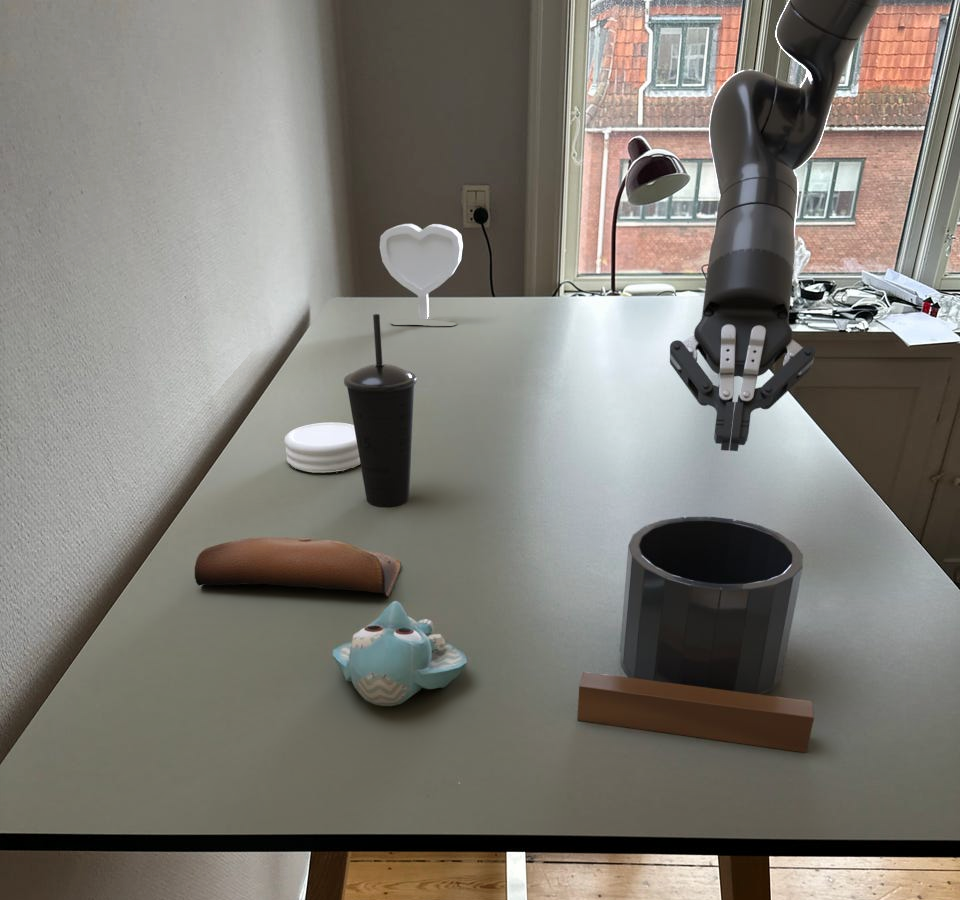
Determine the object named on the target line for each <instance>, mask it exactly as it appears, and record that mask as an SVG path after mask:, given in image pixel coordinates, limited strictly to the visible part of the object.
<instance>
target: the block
mask: <svg viewBox="0 0 960 900" xmlns="http://www.w3.org/2000/svg"><path fill="white" fill-rule="evenodd" d="M577 701H578V702H577V717H576V720H577V721H580V722H587V723H593V724H603V725H609V726H616V727H621V728H623V727H624V728H629V729H637V730H645V731H650V732H658V733H666V734H671V735H672V734H673V735H679V736H687V737H693V738H701V739H706V740H715V741H721V742H727V743H735V744H742V745H749V746H756V747H764V748H771V749H778V750H785V751H791V752H798V753H806V754H807V753H808V748H809V743H810V738H811V733H812V728H813V724H814V720H815V713H814V703H813V701H811V700H805V699H797V698H788V697H780V696H773V695H767V696H766V695H758V694H751V693H743V692H735V691H728V690H720V689H712V688H705V687H697V686H689V685H682V684H674V683H666V682H659V681H651V680H643V679H636V678H629V677H628V676H619V675H612V674H604V673H596V672H590V671H583V672H582V675H581V679H580V681H579V686H578V699H577Z"/></svg>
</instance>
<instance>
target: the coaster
mask: <svg viewBox="0 0 960 900" xmlns="http://www.w3.org/2000/svg"><path fill="white" fill-rule="evenodd" d="M284 445H285V454H286V462H287V461H288V462H287V464H288V463H290V464H291V465H293V466H295V467H297V468H301V469H305V470H312V471H336V470H343V469H349V468H352V467H355V466H358V465H360V458H359V452H358V447H357V441H356V435H355V429H354V424H352V423H351V424H350V423H345V422H333V421H332V422H317V423H310V424H305V425H302V426H299V427H296V428H293V429H292V430H290V431H289V432H287V434H286V435H285V437H284ZM360 466H361V465H360ZM358 467H359V466H358Z"/></svg>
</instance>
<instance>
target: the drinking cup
mask: <svg viewBox="0 0 960 900" xmlns="http://www.w3.org/2000/svg"><path fill="white" fill-rule="evenodd" d="M372 320H373V336H374V350H375V351H374V352H375V364H370V365H366V366H363V367H361V368H358V369H357V370H354V371H353V372H350V373H348V374H347V375H345V376H344V378H343V384H344V387H346V388H347V394H348V399H349V405H350V411H351V416H352V422H353V425H354V429H355V435H356V441H357V447H358V452H359V458H360V464H361V465H360V469H361V475H362V480H363V486H364V492H365V498H366V501H367V503H369V504H370V505H372V506H375V507H386V508H389V507H396V506H401V505H403V504H405V503H407V502H408V501H409V499H410V490H411V488H410V487H411V466H412V465H411V464H412V441H413V422H414V421H413V420H414V419H413V417H414V397H415V396H414V394H415V385H416V384H417V375H416V373H414V372H411V371H409V370H406V369H404V368H402V367H399V366H397V365H392V364H387V363H383V348H382V331H381V330H382V329H381V314H379V313H374V314H373V315H372Z"/></svg>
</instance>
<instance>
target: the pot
mask: <svg viewBox="0 0 960 900" xmlns="http://www.w3.org/2000/svg"><path fill="white" fill-rule="evenodd" d="M625 569H626V571H625V583H624V593H623V605H622V618H621V629H620V630H621V631H620V643H619V653H620V654H619V661H620V665H621V667H622V670H623V672H624V673H625V675H626V677H628V678H636V679H643V680H651V681H659V682H666V683H674V684H682V685H689V686H697V687H705V688H712V689H720V690H728V691H735V692H743V693H751V694H758V695H766V696H770V695H771V694H772V693H773V692H774V690H776V689H777V687H778V685H779V684H780V682H781V679H782V676H783V672H784V667H785V662H786V657H787V651H788V646H789V642H790V641H789V640H790V636H791V630H792V626H793V625H792V624H793V619H794V614H795V609H796V603H797V598H798V593H799V588H800V584H801V578H802V573H803V569H804V554H803V552H801V550H800V549H799V547H798V546H797V544H796V543H795V542H794V541H792V540H790V539H789V538H788V537H785V535H782V534H781V533H779V532H777V531H775V530H772V529H770V528H768V527H765V526H762V525H760V524H755V523H753V522H749V521H747V522H746V521H743V520H740V519H735V518H726V517H717V516H681V517H674V518H668V519H661V520H658V521H656V522H653V523H649V524H647V525H644V526H643V527H641V528H640V529H639V530H638V531H636V532H635V533H633V534H632V536H631V538H630V540H629V543H628V547H627V557H626V568H625Z"/></svg>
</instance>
